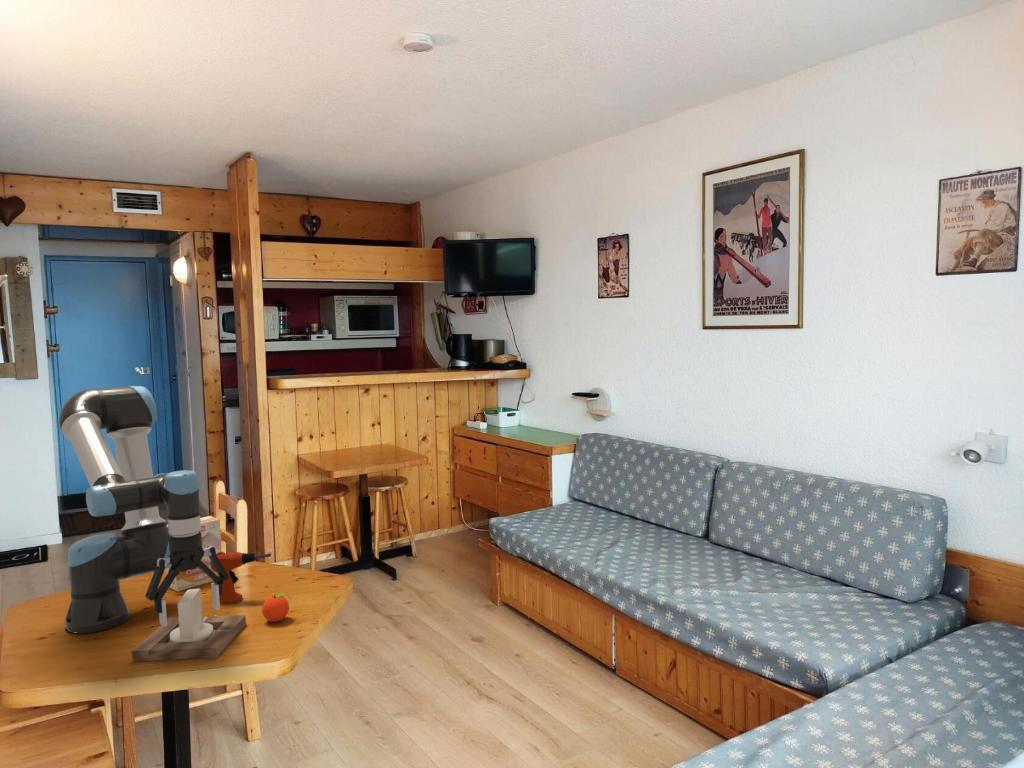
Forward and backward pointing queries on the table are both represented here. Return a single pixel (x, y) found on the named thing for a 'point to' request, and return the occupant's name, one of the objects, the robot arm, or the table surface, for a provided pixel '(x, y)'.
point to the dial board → (162, 649)
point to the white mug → (191, 620)
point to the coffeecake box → (197, 576)
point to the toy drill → (230, 563)
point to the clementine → (275, 608)
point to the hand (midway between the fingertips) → (190, 616)
